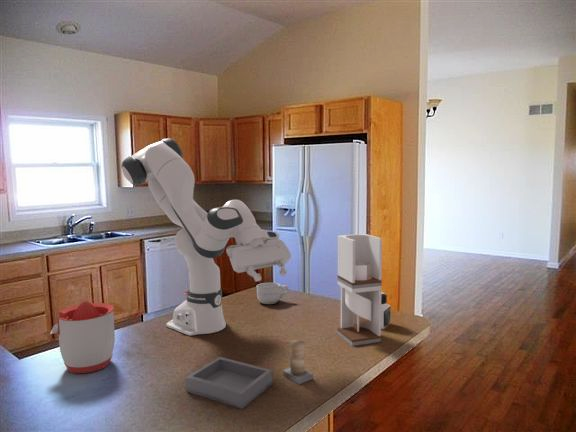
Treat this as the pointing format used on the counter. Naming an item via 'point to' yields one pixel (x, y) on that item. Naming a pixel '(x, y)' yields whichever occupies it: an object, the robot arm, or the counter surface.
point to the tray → (229, 382)
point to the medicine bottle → (384, 311)
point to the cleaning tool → (297, 363)
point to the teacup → (270, 292)
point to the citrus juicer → (86, 336)
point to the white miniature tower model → (360, 288)
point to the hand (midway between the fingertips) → (271, 277)
